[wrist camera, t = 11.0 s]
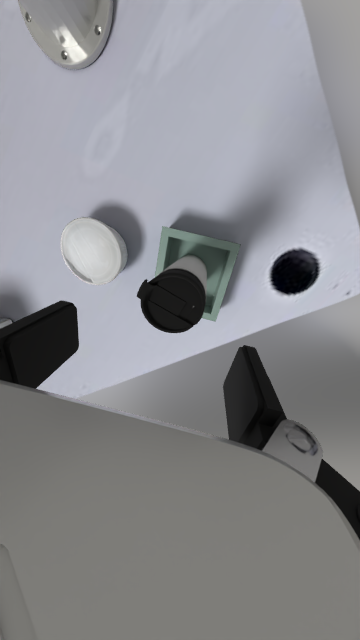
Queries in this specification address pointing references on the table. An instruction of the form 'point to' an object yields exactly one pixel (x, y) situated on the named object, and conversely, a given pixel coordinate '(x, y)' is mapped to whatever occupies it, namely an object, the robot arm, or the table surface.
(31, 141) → the table surface
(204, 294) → the travel mug
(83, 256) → the ramekin
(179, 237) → the tray
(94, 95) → the table surface
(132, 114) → the table surface
